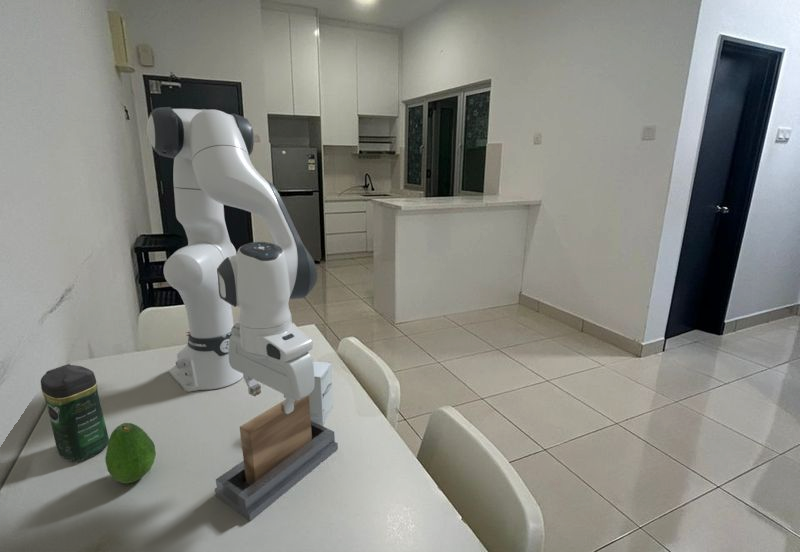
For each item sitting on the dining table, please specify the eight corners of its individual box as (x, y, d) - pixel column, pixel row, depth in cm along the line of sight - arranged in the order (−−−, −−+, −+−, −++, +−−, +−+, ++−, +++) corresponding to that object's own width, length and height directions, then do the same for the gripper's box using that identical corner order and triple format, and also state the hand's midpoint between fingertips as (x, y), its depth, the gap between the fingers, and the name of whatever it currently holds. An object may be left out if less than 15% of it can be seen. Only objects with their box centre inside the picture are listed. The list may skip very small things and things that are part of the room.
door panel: (246, 482, 77) (239, 426, 74) (302, 441, 88) (298, 391, 85) (256, 489, 75) (250, 432, 72) (312, 446, 86) (309, 396, 83)
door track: (215, 495, 76) (213, 477, 75) (304, 432, 93) (303, 417, 92) (250, 521, 70) (248, 502, 69) (337, 449, 88) (337, 433, 87)
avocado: (108, 499, 75) (95, 442, 72) (113, 471, 82) (102, 418, 78) (158, 484, 78) (148, 429, 75) (160, 458, 85) (150, 407, 82)
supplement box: (323, 426, 95) (320, 377, 92) (293, 422, 97) (289, 374, 94) (334, 408, 102) (332, 362, 99) (306, 405, 104) (303, 359, 100)
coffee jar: (117, 445, 89) (100, 367, 84) (74, 468, 82) (53, 385, 77) (93, 431, 94) (76, 357, 89) (52, 452, 87) (30, 372, 82)
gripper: (216, 325, 77) (222, 391, 81) (290, 356, 66) (294, 431, 69) (246, 315, 82) (250, 378, 86) (319, 343, 71) (321, 413, 74)
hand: (270, 402), depth 77 cm, fingers open, 8 cm apart
